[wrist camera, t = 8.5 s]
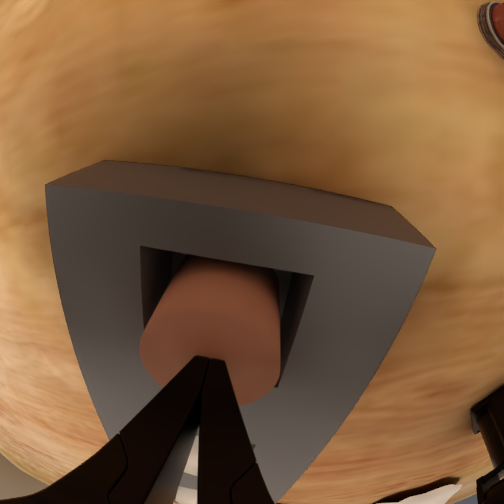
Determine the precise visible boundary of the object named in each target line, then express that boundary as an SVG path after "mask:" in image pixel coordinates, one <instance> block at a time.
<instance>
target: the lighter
mask: <svg viewBox="0 0 504 504" xmlns="http://www.w3.org/2000/svg"><path fill="white" fill-rule="evenodd" d="M477 18H478V25H479V28H480V31H481V33H482V35H483V37H484V39H485V41H486V42H487V43H488V44H489V46H490V47H491V48H492V49H493V50H494V51H495V52H496V53H498V54H499V55H500V56H501V57H502V58H503V59H504V3H501V2H498V1H494V2H490V3H487V4H484V5H481V7H480V8H479V9H478V14H477Z"/></svg>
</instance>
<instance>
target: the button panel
mask: <svg viewBox="0 0 504 504" xmlns="http://www.w3.org/2000/svg"><path fill="white" fill-rule="evenodd" d="M45 192H46V206H47V217H48V227H49V235H50V242H51V249H52V256H53V262H54V268H55V273H56V279H57V284H58V289H59V293H60V298H61V302H62V307H63V311H64V315H65V319H66V323H67V326H68V330H69V334H70V337H71V341H72V344H73V347H74V351H75V354H76V357H77V360H78V363H79V366H80V369H81V372H82V375H83V378H84V380H85V383H86V386H87V389H88V391H89V394H90V396H91V399H92V401H93V404H94V406H95V409H96V411H97V414H98V416H99V418H100V421H101V423H102V425H103V427H104V429H105V432H106V434H107V436H108V438H109V440H111V439H112V438H113V437H114V436H115V435H116V434H117V433H118V434H119V431H120V430H121V429H122V428H123V427H124V426H125V425H126V424H127V423H128V422H129V421H130V420H131V419H132V418H133V417H134V416H135V415H136V414H137V413H138V412H140V411H141V410H142V409H143V408H144V407H145V406H146V405H147V404H148V403H149V402H150V401H151V400H152V399H153V398H154V397H155V396H156V395H157V393H158V392H159V391H160V390H161V389H162V388H163V387H162V386H161V385H159V384H158V383H157V382H156V381H155V380H154V379H153V378H152V377H151V375H150V374H149V373H148V371H147V370H146V368H145V366H144V365H143V362H142V360H141V356H140V349H139V345H140V339H141V336H142V334H143V332H144V330H145V328H146V326H147V324H148V322H149V320H150V318H151V316H152V315H153V313H154V311H155V309H156V307H157V305H158V303H159V301H160V300H161V298H162V296H163V294H164V292H165V290H166V289H167V287H168V285H169V283H170V281H171V279H172V278H173V276H174V274H175V272H176V270H177V269H178V267H179V265H180V263H181V262H182V260H183V259H184V258H185V257H186V256H187V254H191V255H196V256H202V257H208V258H214V259H219V260H225V261H231V262H237V263H243V264H249V265H255V266H261V267H267V268H273V269H274V271H275V273H276V275H277V278H278V281H279V296H280V375H279V379H278V381H277V383H276V384H275V386H274V387H273V389H272V390H271V391H270V392H269V393H268V394H266V395H265V396H264V397H262V398H260V399H258V400H256V401H254V402H252V403H249V404H245V405H241V406H239V408H240V411H241V414H242V418H243V421H244V424H245V427H246V430H247V433H248V436H249V439H250V442H251V445H252V448H253V451H254V454H255V457H256V460H257V462H256V463H258V465H259V468H260V471H261V474H262V476H263V479H264V481H265V484H266V486H267V489H268V491H269V493H270V495H271V497H272V499H273V501H274V503H275V504H276V503H277V502H278V500H279V499H280V498H281V497H282V496H283V495H284V494H285V493H286V492H287V491H288V490H289V489H290V488H291V487H292V485H293V484H294V483H295V482H296V481H297V480H298V479H299V478H300V476H301V475H302V474H303V473H304V472H305V471H306V469H307V468H308V467H309V466H310V465H311V463H312V462H313V461H314V460H315V459H316V457H317V456H318V455H319V454H320V452H321V451H322V450H323V449H324V447H325V446H326V445H327V443H328V442H329V441H330V439H331V438H332V437H333V436H334V434H335V433H336V431H337V430H338V429H339V427H340V426H341V425H342V423H343V422H344V420H345V419H346V418H347V416H348V415H349V413H350V412H351V410H352V409H353V407H354V406H355V404H356V403H357V401H358V400H359V398H360V397H361V395H362V394H363V392H364V391H365V389H366V388H367V386H368V384H369V383H370V381H371V380H372V378H373V376H374V375H375V373H376V371H377V370H378V368H379V366H380V365H381V363H382V361H383V360H384V358H385V356H386V354H387V353H388V351H389V349H390V347H391V345H392V343H393V342H394V340H395V338H396V336H397V334H398V332H399V330H400V328H401V327H402V325H403V323H404V321H405V319H406V317H407V315H408V313H409V311H410V308H411V306H412V304H413V302H414V300H415V298H416V296H417V294H418V291H419V289H420V287H421V285H422V282H423V280H424V278H425V275H426V273H427V271H428V268H429V266H430V263H431V261H432V259H433V256H434V253H435V251H436V248H435V247H434V246H433V245H432V244H431V243H430V242H429V241H428V240H427V239H426V238H425V237H424V236H423V235H422V234H421V233H420V232H419V231H418V230H417V229H416V228H415V227H414V226H413V225H412V224H411V223H409V222H408V221H407V220H406V219H405V218H404V217H403V216H402V215H401V214H400V213H399V212H397V211H396V210H395V209H394V208H393V207H392V206H388V205H384V204H380V203H376V202H372V201H367V200H363V199H359V198H354V197H350V196H345V195H341V194H336V193H332V192H327V191H322V190H317V189H312V188H307V187H302V186H297V185H292V184H286V183H281V182H275V181H270V180H264V179H258V178H252V177H246V176H239V175H233V174H226V173H219V172H212V171H205V170H198V169H190V168H182V167H173V166H164V165H155V164H145V163H134V162H123V161H110V160H103V161H101V162H98V163H95V164H93V165H90V166H88V167H85V168H82V169H80V170H78V171H75V172H73V173H70V174H68V175H66V176H63V177H61V178H59V179H56V180H54V181H52V182H49V183H47V184H45ZM196 436H199V428H198V431H197V434H196ZM179 486H180V487H185V488H190V489H195V490H197V476H195V475H191V474H188V473H185V472H183V475H182V478H181V481H180V484H179ZM176 494H177V493H176ZM175 499H176V496H175ZM175 499H174V501H173V502H175V503H178V502H176V500H175ZM179 504H180V503H179Z"/></svg>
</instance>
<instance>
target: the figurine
mask: <svg viewBox="0 0 504 504" xmlns="http://www.w3.org/2000/svg"><path fill="white" fill-rule="evenodd" d="M461 486H462V484H460V485H454V484H451V485H446V486H443V487H440V488H437V489H435V490H432V491H429V492H427V493H424V494H420V495H416V496H411V497H408V498H406V499H404V500H402V501H400V502H395V503H377V504H445V503H446V502H447V500H448V499H449V498H450V497H451V496H452V495H453V494H455V493H456V492H458V491H459V489H460V488H461Z"/></svg>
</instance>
